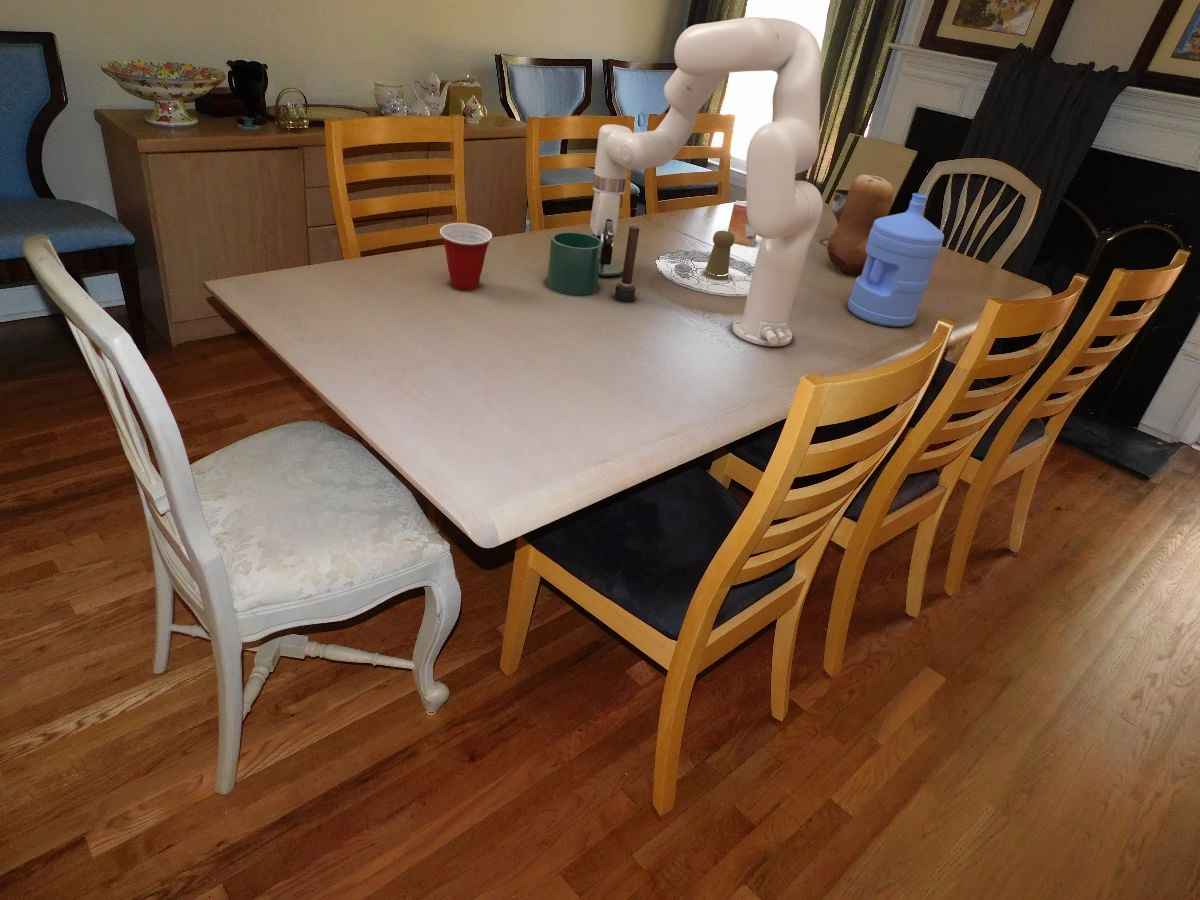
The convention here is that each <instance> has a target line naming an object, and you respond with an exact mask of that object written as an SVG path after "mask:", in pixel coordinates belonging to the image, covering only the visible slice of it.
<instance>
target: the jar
mask: <svg viewBox="0 0 1200 900" xmlns="http://www.w3.org/2000/svg"><path fill="white" fill-rule="evenodd" d="M602 248H603V242H602V240H600V239H599V238H597V237H594V236H593V234H589V233H584V232H577V231H576V232H575V231H562V232H561V231H560V232H556V233H553V234H552V235H551V236H550V242H549V253H548V265H547V276H546V277H547V278H546V284H547V286H548V287H549V289H551V290H553V291H555V292H557V293H561V294H565V295H571V296H587V295H591V294H594V293H596V292H597V291H598V287H599V279H600V276H599V272H600V264H601V256H602Z"/></svg>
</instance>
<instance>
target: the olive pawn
mask: <svg viewBox="0 0 1200 900" xmlns="http://www.w3.org/2000/svg"><path fill="white" fill-rule="evenodd" d="M734 240H735V238H734V235H733V234H732V233H730V232H728V230H718V231H716V232H715V233H714V234H713V236H712V242H713V246H712V248H711V253H710V255H709V258H708V261H707V264H706V267H705V270H704V273H703V274H704V276H705V277H707V278H709V279H712V280H717V281H725V280H728V278H729V273H730V271H729V270H730V259H731V248H732V247H733V245H734V244H735V242H734ZM706 271H707V272H706ZM708 272H709V273H708ZM710 273H711V274H710ZM727 273H728V275H726V276H717V275H724V274H727ZM713 274H714V275H713Z"/></svg>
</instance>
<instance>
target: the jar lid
mask: <svg viewBox="0 0 1200 900" xmlns="http://www.w3.org/2000/svg"><path fill="white" fill-rule="evenodd" d="M623 269H624V263H621V262H620V261H618V260H616V259H613V258H612V259H611V264H610V265H605V264H600V272H599V277H615V276H619V275H621V274H622V275H623Z"/></svg>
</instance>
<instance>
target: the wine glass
mask: <svg viewBox="0 0 1200 900" xmlns="http://www.w3.org/2000/svg"><path fill="white" fill-rule="evenodd" d="M849 190H850V189H835V191H834V195H833V199H832V206H831V207H832V208H831V209H832V214H833V216H834V217H835V220H836V223H837V225H838V223H839V221H840V218H841V214H842V211H843V208H844V206H845V203H846V200H847V196H848V192H849ZM829 240H830V239H827V240H823V241H822V244H823V245H825V246H827V245H828V242H829Z"/></svg>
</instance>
